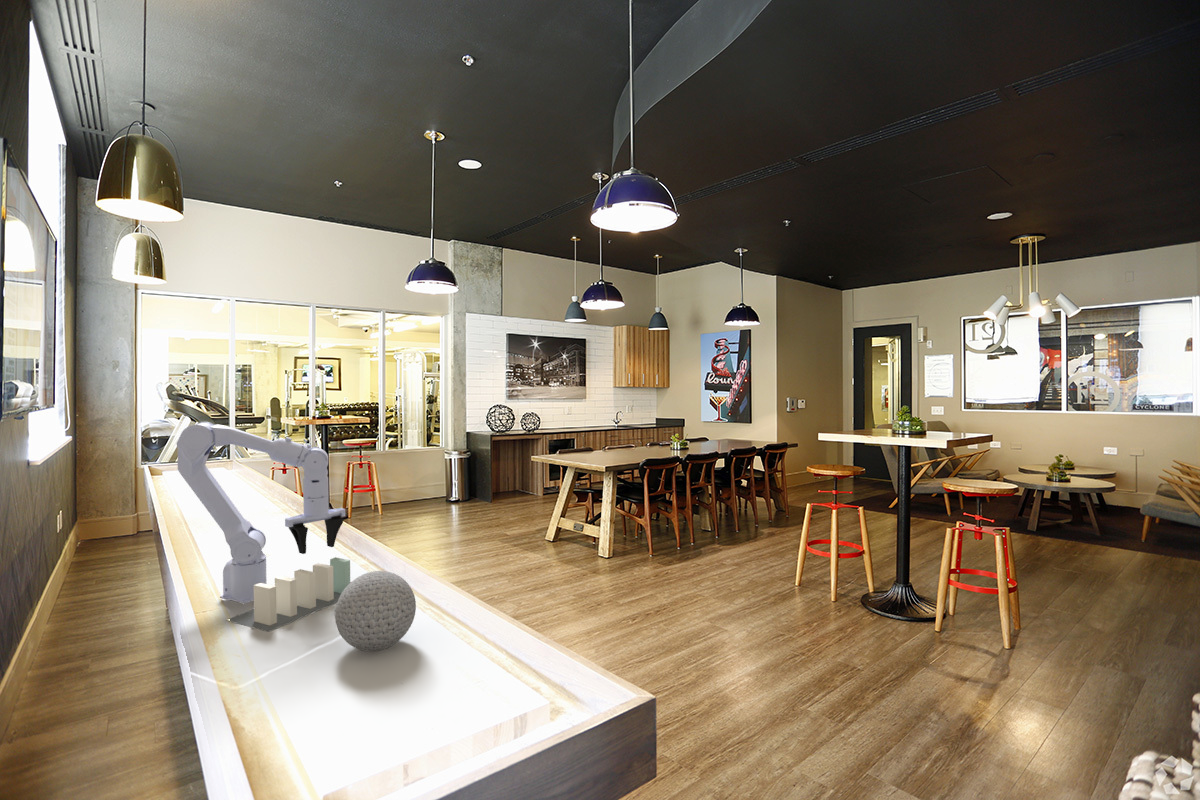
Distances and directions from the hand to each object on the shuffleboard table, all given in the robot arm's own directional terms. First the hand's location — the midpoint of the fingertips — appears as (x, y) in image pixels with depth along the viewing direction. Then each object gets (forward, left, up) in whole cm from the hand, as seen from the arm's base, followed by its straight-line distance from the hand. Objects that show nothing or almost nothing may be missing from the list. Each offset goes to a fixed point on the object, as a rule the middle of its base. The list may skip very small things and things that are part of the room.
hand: (316, 549), depth 149 cm
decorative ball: (+38, -18, -10) cm, 43 cm away
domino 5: (+8, 0, -10) cm, 12 cm away
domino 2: (+8, -15, -10) cm, 19 cm away
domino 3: (+8, -10, -10) cm, 16 cm away
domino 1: (+8, -20, -10) cm, 24 cm away
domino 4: (+8, -5, -10) cm, 13 cm away
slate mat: (+6, -8, -10) cm, 14 cm away
